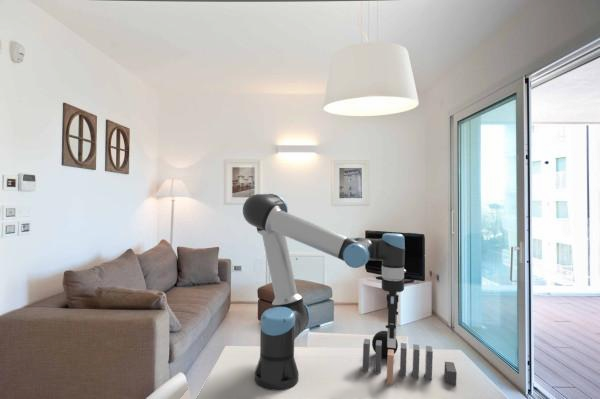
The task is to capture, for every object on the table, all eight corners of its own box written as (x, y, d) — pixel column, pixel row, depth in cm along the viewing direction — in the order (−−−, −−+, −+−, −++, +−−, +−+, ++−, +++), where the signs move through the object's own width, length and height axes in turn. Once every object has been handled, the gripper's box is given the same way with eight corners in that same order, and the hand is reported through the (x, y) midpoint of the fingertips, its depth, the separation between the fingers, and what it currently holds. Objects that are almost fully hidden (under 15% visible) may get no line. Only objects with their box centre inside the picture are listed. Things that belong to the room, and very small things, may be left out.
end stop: (446, 384, 135) (447, 371, 135) (444, 373, 143) (444, 361, 143) (456, 385, 135) (456, 372, 135) (453, 374, 142) (453, 362, 142)
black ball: (400, 354, 159) (401, 330, 159) (393, 364, 150) (393, 338, 150) (376, 349, 164) (377, 325, 164) (368, 357, 155) (368, 332, 155)
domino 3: (386, 383, 134) (387, 354, 134) (387, 377, 139) (387, 349, 139) (392, 384, 134) (393, 355, 134) (392, 378, 139) (393, 349, 139)
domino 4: (400, 375, 141) (400, 348, 140) (400, 369, 146) (400, 342, 145) (405, 376, 140) (406, 348, 140) (405, 370, 145) (406, 343, 145)
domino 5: (412, 377, 140) (413, 349, 139) (412, 371, 144) (413, 344, 144) (418, 378, 139) (419, 350, 139) (418, 372, 144) (418, 344, 144)
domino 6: (425, 379, 138) (426, 351, 138) (425, 373, 143) (425, 345, 143) (431, 380, 138) (432, 351, 138) (430, 373, 143) (431, 346, 143)
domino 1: (362, 370, 144) (363, 343, 144) (363, 365, 149) (364, 338, 149) (368, 371, 143) (368, 344, 143) (369, 365, 148) (370, 339, 148)
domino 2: (374, 372, 143) (375, 345, 143) (375, 366, 148) (376, 340, 147) (380, 373, 142) (381, 345, 142) (381, 367, 147) (381, 340, 147)
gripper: (404, 287, 123) (403, 355, 123) (403, 272, 147) (403, 328, 147) (379, 286, 125) (378, 352, 125) (383, 271, 149) (382, 327, 149)
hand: (391, 340), depth 136 cm, fingers open, 13 cm apart
